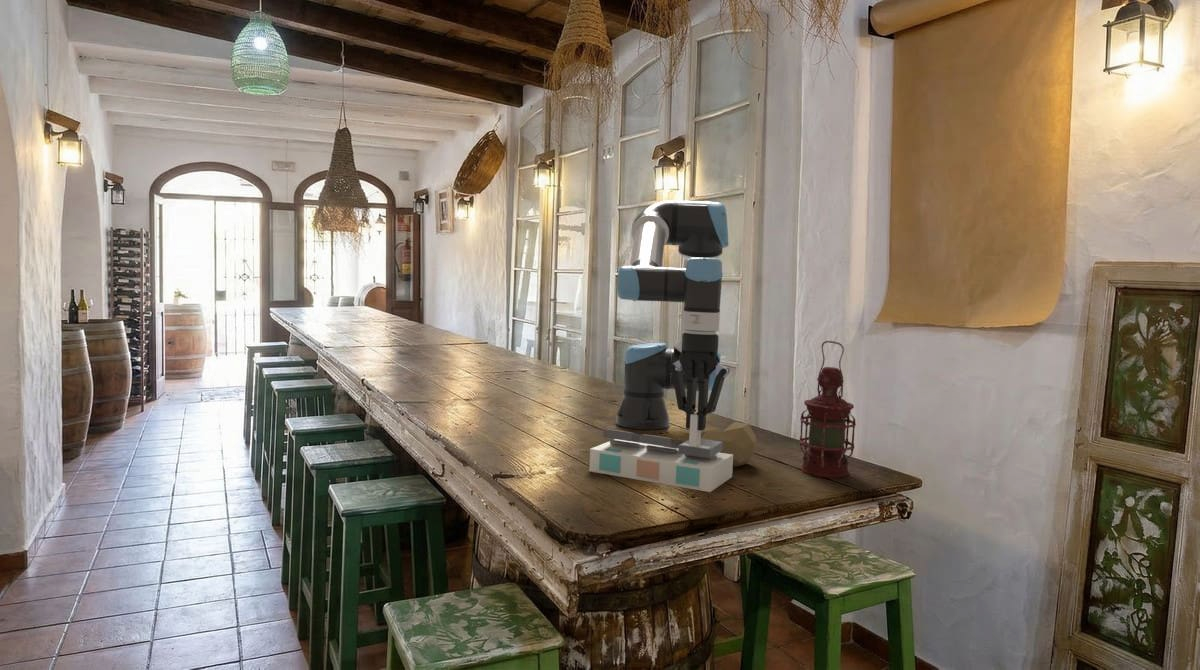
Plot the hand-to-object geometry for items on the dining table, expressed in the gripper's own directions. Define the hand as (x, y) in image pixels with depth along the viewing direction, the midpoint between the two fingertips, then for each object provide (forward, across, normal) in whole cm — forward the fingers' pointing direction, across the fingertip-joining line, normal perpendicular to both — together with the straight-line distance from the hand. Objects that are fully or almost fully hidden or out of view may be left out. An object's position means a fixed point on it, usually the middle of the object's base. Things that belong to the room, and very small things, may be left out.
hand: (694, 445), depth 167 cm
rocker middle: (+1, -9, +4) cm, 10 cm away
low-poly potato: (+8, 0, +21) cm, 23 cm away
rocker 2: (+1, 0, +4) cm, 4 cm away
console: (+8, -9, +4) cm, 13 cm away
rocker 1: (+1, -18, +4) cm, 19 cm away
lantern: (+8, +21, +28) cm, 36 cm away
